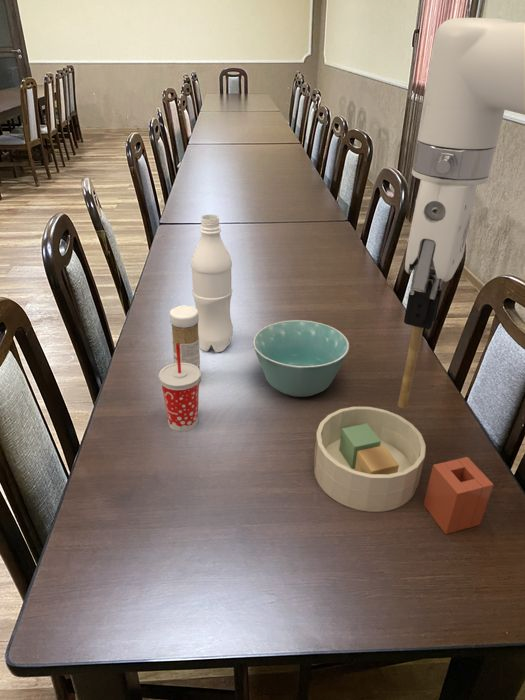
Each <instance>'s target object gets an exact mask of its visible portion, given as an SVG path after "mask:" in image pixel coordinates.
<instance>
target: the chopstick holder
mask: <svg viewBox="0 0 525 700" xmlns="http://www.w3.org/2000/svg"><path fill="white" fill-rule="evenodd" d="M493 487H494V484H493V482H492V481H491V480H490V479H489V478H488V477H487V475H485V474H484V472H483V471H482V470H481V469H480V468H479V467H478V466H477V465H476V464H475V463H474V462H473V461H472V460H471V459H470V458H469V457H468V456H465V457H461V458H456V459H452V460H448V461H444V462H443V461H442V462H438V463H435V464H433V465H432V468H431V472H430V476H429V481H428V484H427V488H426V493H425V496H424V501H423V506H424V508H425V509H426V511H427V512H428V513H429V514H430V516H431V517H432V518H433V520H434V521H435V522H436V524H437V525H438V526H439V528H440V529H441V530H442V532H443V533H444V535H450V534H453V533H456V532H459V531H463V530H466V529H470V528H474V527H477V526H478V527H479V526H480V525H481V523H482V521H483V518H484V514H485V511H486V508H487V506H488V502H489V499H490V496H491V493H492V491H493Z"/></svg>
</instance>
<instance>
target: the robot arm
mask: <svg viewBox="0 0 525 700" xmlns="http://www.w3.org/2000/svg"><path fill="white" fill-rule="evenodd" d="M505 111H508V112H513V113H516V114H520V115H524V116H525V21H519V22H518V21H517V22H516V21H514V20H511V19H507V18H493V17H455V18H449V19H446V20H445V21H443V22H442V23H441V24H440V25H439V26H438V28H437V30H436V32H435V34H434V38H433V42H432V48H431V54H430V60H429V65H428V71H427V78H426V84H425V89H424V97H423V102H422V108H421V115H420V119H419V126H418V133H417V139H416V143H415V150H414V155H413V160H412V167H411V168H412V169H411V175H412V176H413V177H414V178H416V179H419V181H420V182H419V186H418V191H417V195H416V198H415V205H414V211H413V214H412V219H411V224H410V230H409V234H408V241H407V245H406V246H407V248H406V252H405V260H404V261H405V263H404V271H405V272H406V273H407V274H408V275H410V274H412V277H411V283H410V289H409V292H408V297H407V302H406V307H405V313H404V317H403V322H404V324H405V325H408V326H412V327H413V326H416V327H420V328H423V330H424V329H425V330H431V329H432V327H433V324H434V322H436V318H437V314H438V310H439V307H440V301H441V296H442V292H443V290H442V285H443V282H445V283H446V282H449V281H450V280H451V279H453V277H454V275H455V273H456V271H457V270H458V268H459V266H460V263H461V261H462V259H463V257H464V253H465V249H466V243H467V238H468V232H469V227H470V223H471V218H472V213H473V209H474V204H475V199H476V193H477V187H478V186H481V185H482V184H486V183H488V181H489V178H490V173H491V170H492V165H493V160H494V157H495V152H496V147H497V143H498V140H499V135H500V131H501V127H502V123H503V118H504V114H505ZM428 279H432V280H433V283H432V281H429V280H428Z"/></svg>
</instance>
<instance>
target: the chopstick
mask: <svg viewBox="0 0 525 700" xmlns="http://www.w3.org/2000/svg"><path fill="white" fill-rule="evenodd" d="M428 280H429V281H432V283H433V280H432V279H428ZM423 332H424V328H420V327H416V326H412V330H411V335H410V340H409V345H408V349H407V356H406V361H405V365H404V370H403V376H402V381H401V387H400V391H399V396H398V402H397V407H399V408H401V409H406V408H407V407H408V403H409V399H410V394H411V389H412V384H413V380H414V376H415V375H414V374H415V370H416V366H417V361H418V356H419V351H420V346H421V341H422V338H423V337H422V336H423Z"/></svg>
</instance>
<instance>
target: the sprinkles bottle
mask: <svg viewBox="0 0 525 700" xmlns="http://www.w3.org/2000/svg"><path fill="white" fill-rule="evenodd" d="M198 321H199V315H198V310H197V309H196V306H192V305H186V304H183V305H178V306H175V307H173V308H172V309H171V310H170V311H169V322H170V324H171V332H172V333H171V335H172V352H173V353H172V354H173V364H174V363H177V351H176V344H177V343H179V346H180V361H181V363H189V364H193V365H195V366H197V367H198V368H199V369H200V370H201V366H200V365H201V357H200V356H201V353H200V352H201V351H200V350H201V349H200V347H199V336H198ZM200 382H201V380H200V381H199V383H200Z"/></svg>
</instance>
